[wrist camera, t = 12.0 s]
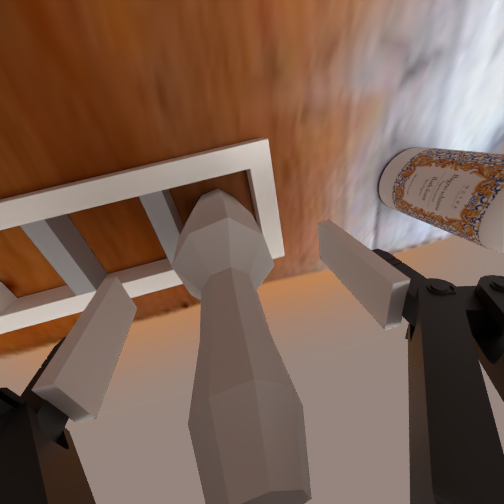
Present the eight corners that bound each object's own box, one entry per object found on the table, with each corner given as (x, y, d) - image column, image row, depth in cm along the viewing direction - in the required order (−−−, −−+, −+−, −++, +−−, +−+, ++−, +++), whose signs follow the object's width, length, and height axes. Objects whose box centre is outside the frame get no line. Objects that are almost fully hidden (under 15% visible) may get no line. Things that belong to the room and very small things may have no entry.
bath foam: (392, 142, 24) (865, 174, 7) (441, 151, 26) (922, 197, 8) (367, 204, 27) (647, 333, 10) (412, 209, 29) (719, 327, 12)
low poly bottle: (257, 212, 25) (420, 470, 6) (216, 247, 26) (246, 556, 7) (218, 167, 22) (303, 403, 3) (173, 209, 23) (35, 569, 4)
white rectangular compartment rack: (12, 315, 25) (-10, 336, 23) (-91, 220, 19) (-136, 235, 17) (277, 243, 27) (284, 255, 25) (260, 137, 21) (268, 138, 19)
